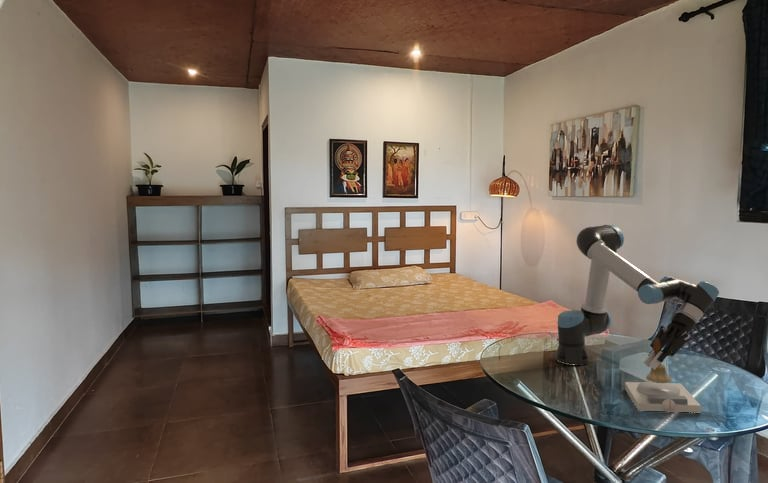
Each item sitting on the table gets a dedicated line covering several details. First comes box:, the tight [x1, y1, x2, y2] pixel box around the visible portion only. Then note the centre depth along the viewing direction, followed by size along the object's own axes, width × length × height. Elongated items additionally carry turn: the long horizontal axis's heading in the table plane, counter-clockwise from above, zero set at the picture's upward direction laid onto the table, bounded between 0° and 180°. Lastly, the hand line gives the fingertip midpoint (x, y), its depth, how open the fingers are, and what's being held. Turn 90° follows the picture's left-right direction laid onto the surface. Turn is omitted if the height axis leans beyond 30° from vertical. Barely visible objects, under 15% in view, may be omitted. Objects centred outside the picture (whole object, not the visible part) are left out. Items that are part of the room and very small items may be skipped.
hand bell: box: [645, 337, 672, 383], centre depth 181 cm, size 8×8×16 cm
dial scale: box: [624, 380, 702, 414], centre depth 180 cm, size 20×20×5 cm
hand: (649, 366), depth 180 cm, fingers closed on hand bell, 2 cm apart
